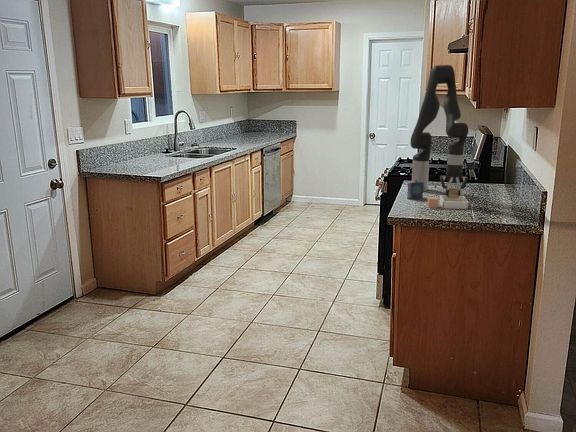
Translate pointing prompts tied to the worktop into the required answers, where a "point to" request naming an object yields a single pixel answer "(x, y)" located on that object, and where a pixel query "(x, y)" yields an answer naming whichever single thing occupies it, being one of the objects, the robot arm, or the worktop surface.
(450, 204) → the tray
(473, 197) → the worktop surface
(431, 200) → the terracotta block
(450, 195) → the walnut block
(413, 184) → the flask
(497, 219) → the worktop surface
